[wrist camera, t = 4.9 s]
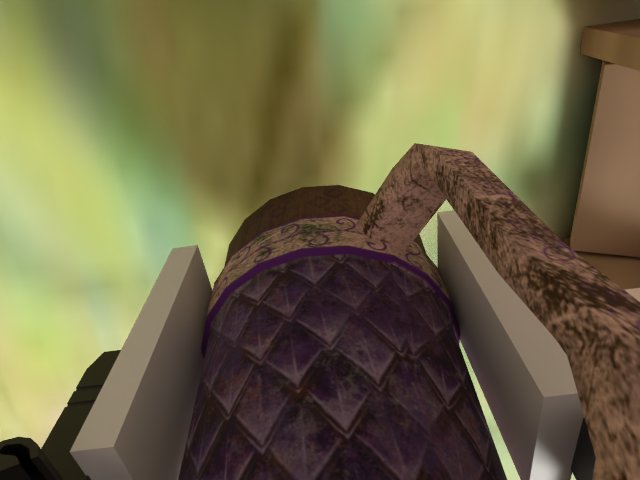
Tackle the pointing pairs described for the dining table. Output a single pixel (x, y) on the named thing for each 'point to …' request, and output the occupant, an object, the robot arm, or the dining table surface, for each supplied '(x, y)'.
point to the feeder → (612, 159)
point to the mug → (392, 335)
